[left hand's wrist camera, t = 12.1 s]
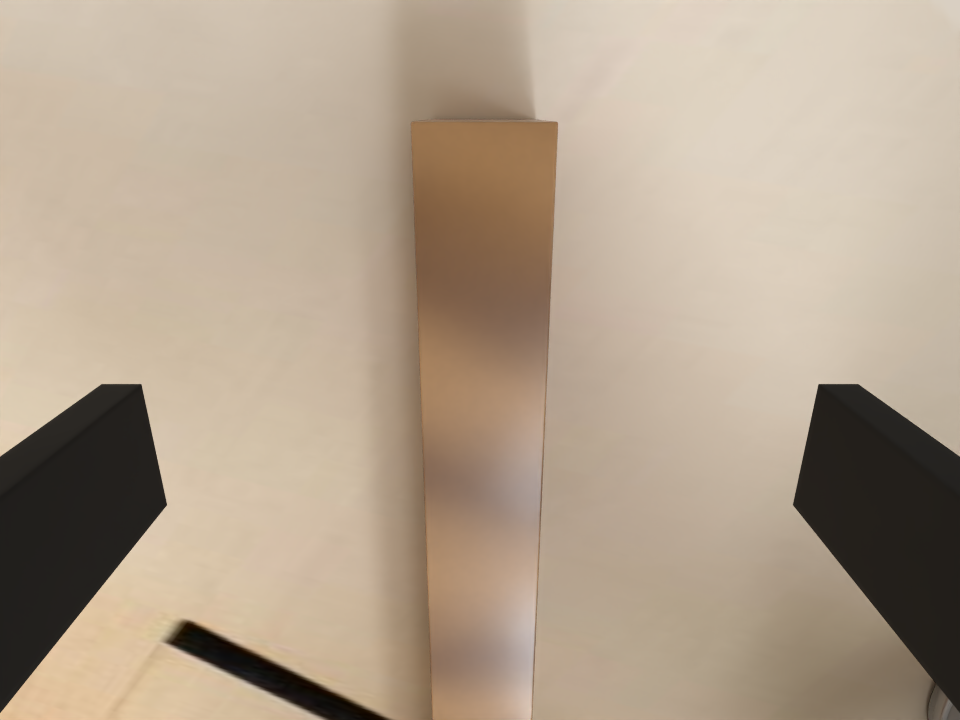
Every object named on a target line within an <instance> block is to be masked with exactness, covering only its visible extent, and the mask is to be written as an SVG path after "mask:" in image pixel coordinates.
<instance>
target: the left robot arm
mask: <svg viewBox="0 0 960 720" xmlns="http://www.w3.org/2000/svg"><path fill="white" fill-rule="evenodd" d="M166 506H167V503H166V498H165V493H164V489H163V484H162V479H161V474H160V470H159V465H158V460H157V456H156V451H155V446H154V442H153V437H152V432H151V427H150V423H149V418H148V413H147V409H146V404H145V399H144V394H143V390H142V385H141V384H101V385H100V386H99V387H97V388H96V389H94V390H93V391H92V392H90V393H89V394H87V395H86V396H85V397H83V398H82V399H80V400H79V401H78V402H76V403H75V404H73V405H72V406H71V407H69V408H68V409H66V410H65V411H64V412H62V413H61V414H59V415H58V416H57V417H55V418H54V419H52V420H51V421H50V422H48V423H47V424H45V425H44V426H43V427H41V428H40V429H38V430H37V431H36V432H34V433H33V434H31V435H30V436H29V437H27V438H26V439H24V440H23V441H22V442H20V443H19V444H17V445H16V446H15V447H13V448H12V449H10V450H9V451H8V452H6V453H5V454H3V455H2V456H1V457H0V713H1V711H2V710H3V709H4V708H5V706H6V705H7V704H8V703H9V701H10V700H11V699H12V698H13V696H14V695H15V694H16V693H17V691H18V690H19V689H20V688H21V686H22V685H23V684H24V683H25V681H26V680H27V679H28V678H29V676H30V675H31V674H32V673H33V671H34V670H35V669H36V668H37V666H38V665H39V664H40V663H41V661H42V660H43V659H44V658H45V656H46V655H47V654H48V653H49V652H50V650H51V649H52V648H53V647H54V645H55V644H56V643H57V642H58V640H59V639H60V638H61V637H62V635H63V634H64V633H65V632H66V630H67V629H68V628H69V627H70V625H71V624H72V623H73V622H74V620H75V619H76V618H77V617H78V615H79V614H80V613H81V612H82V610H83V609H84V608H85V607H86V605H87V604H88V603H89V602H90V600H91V599H92V598H93V597H94V595H95V594H96V593H97V592H98V590H99V589H100V588H101V587H102V585H103V584H104V583H105V582H106V580H107V579H108V578H109V577H110V575H111V574H112V573H113V572H114V570H115V569H116V568H117V567H118V565H119V564H120V563H121V562H122V560H123V559H124V558H125V557H126V555H127V554H128V553H129V552H130V550H131V549H132V548H133V547H134V545H135V544H136V543H137V542H138V540H139V539H140V538H141V537H142V536H143V534H144V533H145V532H146V531H147V529H148V528H149V527H150V526H151V524H152V523H153V522H154V521H155V519H156V518H157V517H158V516H159V514H160V513H161V512H162V511H163V509H164V508H165V507H166ZM793 506H794V507H795V508H796V509H797V511H798V512H799V513H800V514H801V516H802V517H803V518H804V519H805V521H806V522H807V523H808V524H809V526H810V527H811V528H812V529H813V531H814V532H815V533H816V534H817V536H818V537H819V538H820V539H821V540H822V542H823V543H824V544H825V545H826V547H827V548H828V549H829V550H830V552H831V553H832V554H833V555H834V557H835V558H836V559H837V560H838V562H839V563H840V564H841V565H842V567H843V568H844V569H845V570H846V572H847V573H848V574H849V575H850V577H851V578H852V579H853V580H854V582H855V583H856V584H857V585H858V587H859V588H860V589H861V590H862V592H863V593H864V594H865V595H866V597H867V598H868V599H869V600H870V602H871V603H872V604H873V605H874V607H875V608H876V609H877V610H878V612H879V613H880V614H881V615H882V617H883V618H884V619H885V620H886V622H887V623H888V624H889V625H890V627H891V628H892V629H893V630H894V632H895V633H896V634H897V635H898V637H899V638H900V639H901V640H902V642H903V643H904V644H905V645H906V647H907V648H908V649H909V650H910V652H911V653H912V654H913V655H914V657H915V658H916V659H917V660H918V661H919V663H920V664H921V665H922V666H923V668H924V669H925V670H926V671H927V673H928V674H929V675H930V676H931V678H932V679H933V680H934V681H935V683H936V685H935V687H934V690H933V693H932V695H931V699H930V703H929V709H928V720H960V457H959V456H958V455H957V454H955V453H954V452H952V451H951V450H950V449H948V448H947V447H945V446H944V445H943V444H941V443H940V442H938V441H937V440H936V439H934V438H933V437H931V436H930V435H929V434H927V433H926V432H924V431H923V430H922V429H920V428H919V427H917V426H916V425H915V424H913V423H912V422H910V421H909V420H908V419H906V418H905V417H903V416H902V415H901V414H899V413H898V412H896V411H895V410H894V409H892V408H891V407H889V406H888V405H887V404H885V403H884V402H882V401H881V400H880V399H878V398H877V397H875V396H874V395H873V394H871V393H870V392H868V391H867V390H866V389H864V388H863V387H861V386H860V385H859V384H819V385H818V390H817V394H816V399H815V404H814V409H813V413H812V418H811V423H810V427H809V432H808V437H807V442H806V446H805V451H804V456H803V460H802V465H801V470H800V474H799V479H798V484H797V489H796V493H795V498H794V503H793Z"/></svg>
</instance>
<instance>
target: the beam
mask: <svg viewBox="0 0 960 720" xmlns="http://www.w3.org/2000/svg"><path fill="white" fill-rule="evenodd" d="M557 134H558V123H557V122H553V121H544V120H526V119H430V120H422V121H413V122H411V139H412V166H413V194H414V222H415V250H416V278H417V305H418V333H419V361H420V389H421V416H422V444H423V472H424V500H425V528H426V555H427V583H428V611H429V639H430V666H431V694H432V720H532V708H533V685H534V662H535V639H536V616H537V593H538V570H539V547H540V524H541V501H542V478H543V455H544V432H545V409H546V386H547V363H548V340H549V318H550V295H551V272H552V249H553V226H554V203H555V180H556V157H557Z"/></svg>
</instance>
